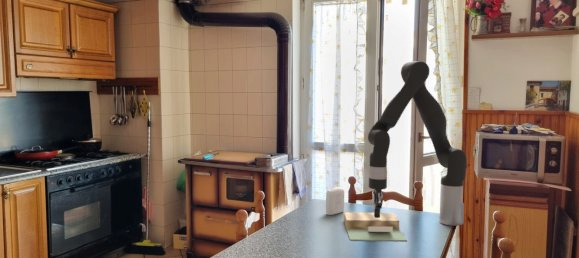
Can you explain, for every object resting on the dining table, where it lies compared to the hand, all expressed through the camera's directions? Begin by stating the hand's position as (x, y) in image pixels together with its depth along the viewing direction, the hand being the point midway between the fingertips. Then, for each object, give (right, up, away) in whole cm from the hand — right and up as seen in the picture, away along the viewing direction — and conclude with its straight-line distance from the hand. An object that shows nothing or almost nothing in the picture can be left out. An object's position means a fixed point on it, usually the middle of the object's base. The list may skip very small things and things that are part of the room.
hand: (377, 217), depth 184 cm
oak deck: (-2, -5, +5) cm, 7 cm away
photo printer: (-15, -3, +25) cm, 29 cm away
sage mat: (-2, -6, -8) cm, 10 cm away
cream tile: (0, -2, -7) cm, 7 cm away
